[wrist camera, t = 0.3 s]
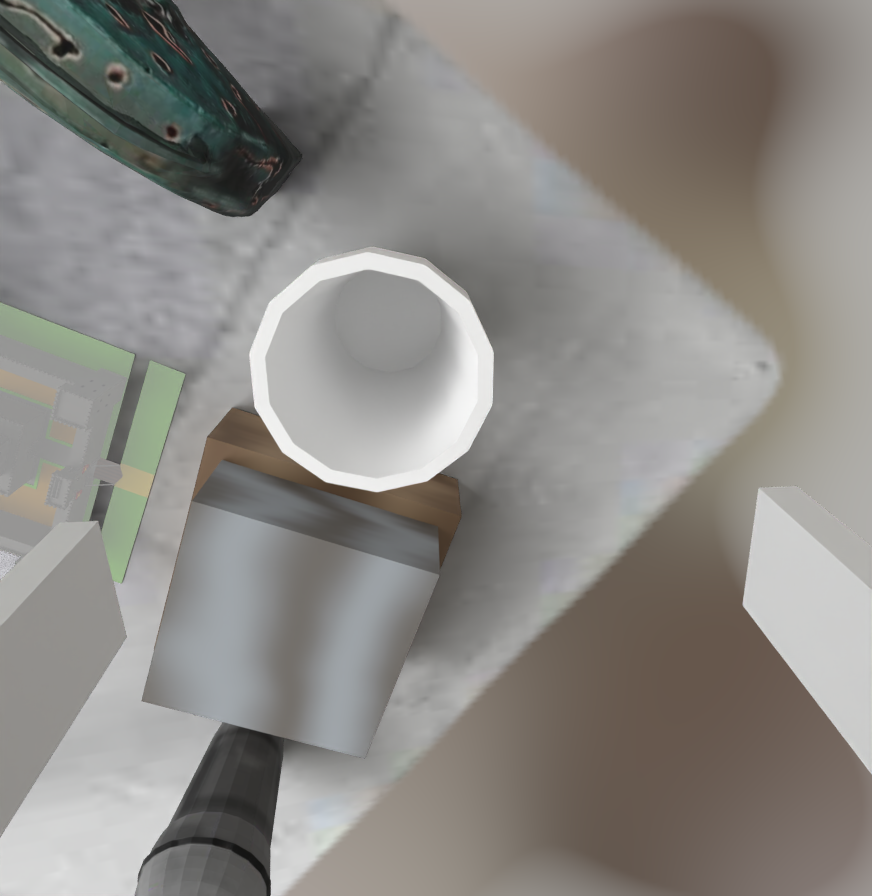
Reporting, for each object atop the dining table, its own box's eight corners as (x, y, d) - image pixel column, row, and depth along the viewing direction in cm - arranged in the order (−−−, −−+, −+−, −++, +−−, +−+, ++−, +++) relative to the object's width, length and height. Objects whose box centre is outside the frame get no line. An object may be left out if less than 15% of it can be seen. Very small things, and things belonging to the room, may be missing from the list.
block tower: (181, 601, 45) (118, 710, 36) (232, 407, 40) (174, 475, 31) (386, 658, 47) (377, 776, 38) (457, 479, 42) (466, 563, 33)
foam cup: (427, 423, 41) (429, 525, 29) (280, 358, 40) (216, 436, 27) (501, 275, 38) (537, 319, 26) (345, 198, 36) (305, 206, 24)
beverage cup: (276, 676, 47) (179, 997, 29) (321, 752, 50) (260, 1094, 31) (181, 709, 48) (28, 1041, 30) (231, 782, 51) (118, 1132, 32)
